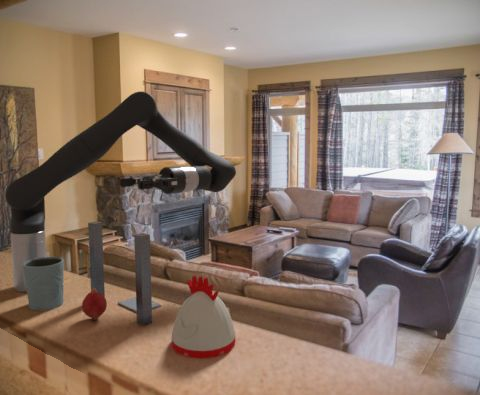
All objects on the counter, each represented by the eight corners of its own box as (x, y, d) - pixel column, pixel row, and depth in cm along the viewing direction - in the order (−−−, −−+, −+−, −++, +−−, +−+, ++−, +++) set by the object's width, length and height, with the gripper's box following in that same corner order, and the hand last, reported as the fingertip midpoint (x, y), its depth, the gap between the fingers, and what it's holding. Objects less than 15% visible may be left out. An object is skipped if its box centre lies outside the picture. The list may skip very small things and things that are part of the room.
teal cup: (45, 313, 113) (42, 268, 112) (16, 308, 117) (13, 264, 116) (74, 300, 123) (71, 258, 121) (46, 295, 126) (43, 254, 125)
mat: (117, 303, 120) (117, 302, 120) (139, 297, 125) (139, 295, 125) (139, 313, 113) (139, 311, 113) (161, 306, 119) (161, 304, 118)
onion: (77, 321, 109) (76, 290, 108) (95, 313, 114) (93, 283, 113) (94, 326, 106) (93, 293, 105) (112, 317, 111) (111, 286, 110)
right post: (137, 323, 108) (134, 234, 105) (145, 320, 109) (143, 233, 106) (143, 326, 106) (140, 236, 103) (152, 323, 108) (149, 234, 105)
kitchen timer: (200, 324, 107) (199, 264, 105) (247, 339, 99) (247, 274, 97) (158, 346, 96) (156, 279, 94) (207, 365, 88) (206, 292, 86)
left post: (91, 300, 122) (88, 222, 120) (100, 298, 124) (96, 221, 121) (96, 303, 121) (92, 223, 118) (104, 300, 123) (101, 222, 120)
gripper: (163, 165, 130) (113, 168, 118) (195, 167, 120) (145, 170, 108) (163, 190, 131) (114, 196, 119) (195, 194, 121) (146, 201, 109)
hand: (129, 184), depth 114 cm, fingers open, 8 cm apart
